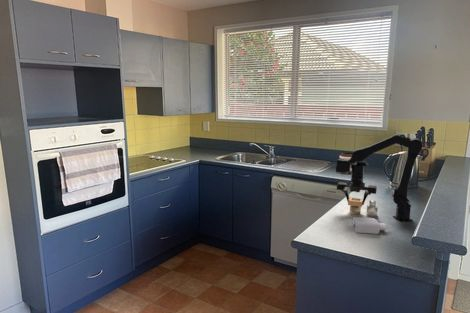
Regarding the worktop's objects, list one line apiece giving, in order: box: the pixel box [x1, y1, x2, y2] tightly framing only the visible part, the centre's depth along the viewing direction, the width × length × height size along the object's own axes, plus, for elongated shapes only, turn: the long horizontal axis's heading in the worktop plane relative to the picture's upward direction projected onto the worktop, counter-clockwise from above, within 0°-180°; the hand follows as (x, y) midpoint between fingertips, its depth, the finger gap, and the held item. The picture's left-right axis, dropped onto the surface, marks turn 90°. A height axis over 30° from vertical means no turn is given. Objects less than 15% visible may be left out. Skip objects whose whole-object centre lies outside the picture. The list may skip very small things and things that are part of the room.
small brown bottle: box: [349, 199, 362, 216], centre depth 172 cm, size 5×5×7 cm
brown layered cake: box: [339, 152, 357, 175], centre depth 269 cm, size 20×15×15 cm
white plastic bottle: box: [352, 216, 392, 235], centre depth 150 cm, size 5×9×15 cm
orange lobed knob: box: [365, 199, 379, 218], centre depth 169 cm, size 5×5×7 cm
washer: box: [347, 196, 363, 208], centre depth 172 cm, size 7×7×2 cm
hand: (355, 204), depth 172 cm, fingers closed on washer, 7 cm apart
